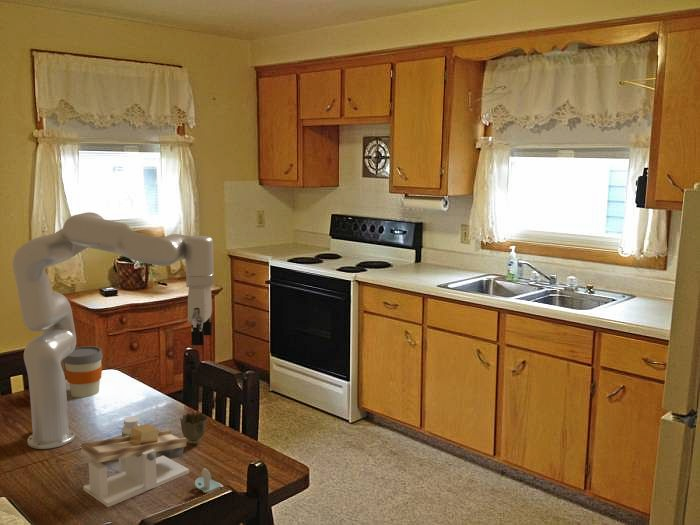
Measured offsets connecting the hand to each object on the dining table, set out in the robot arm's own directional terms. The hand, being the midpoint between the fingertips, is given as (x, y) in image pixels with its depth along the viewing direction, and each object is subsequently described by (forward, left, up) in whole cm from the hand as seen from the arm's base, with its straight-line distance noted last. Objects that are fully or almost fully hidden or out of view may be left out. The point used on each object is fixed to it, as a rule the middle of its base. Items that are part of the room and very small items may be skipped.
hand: (201, 339), depth 186 cm
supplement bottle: (-11, -17, -31) cm, 37 cm away
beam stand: (+5, -25, -31) cm, 40 cm away
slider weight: (+5, -23, -22) cm, 32 cm away
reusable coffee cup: (-64, -4, -31) cm, 71 cm away
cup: (-3, -2, -31) cm, 32 cm away
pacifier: (+22, -15, -32) cm, 41 cm away
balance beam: (+5, -26, -25) cm, 36 cm away
